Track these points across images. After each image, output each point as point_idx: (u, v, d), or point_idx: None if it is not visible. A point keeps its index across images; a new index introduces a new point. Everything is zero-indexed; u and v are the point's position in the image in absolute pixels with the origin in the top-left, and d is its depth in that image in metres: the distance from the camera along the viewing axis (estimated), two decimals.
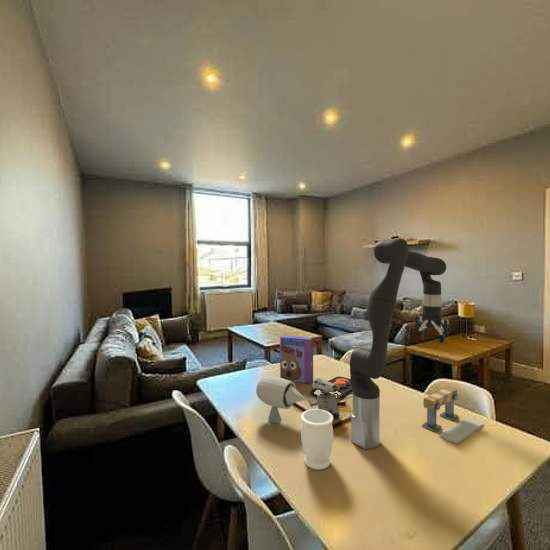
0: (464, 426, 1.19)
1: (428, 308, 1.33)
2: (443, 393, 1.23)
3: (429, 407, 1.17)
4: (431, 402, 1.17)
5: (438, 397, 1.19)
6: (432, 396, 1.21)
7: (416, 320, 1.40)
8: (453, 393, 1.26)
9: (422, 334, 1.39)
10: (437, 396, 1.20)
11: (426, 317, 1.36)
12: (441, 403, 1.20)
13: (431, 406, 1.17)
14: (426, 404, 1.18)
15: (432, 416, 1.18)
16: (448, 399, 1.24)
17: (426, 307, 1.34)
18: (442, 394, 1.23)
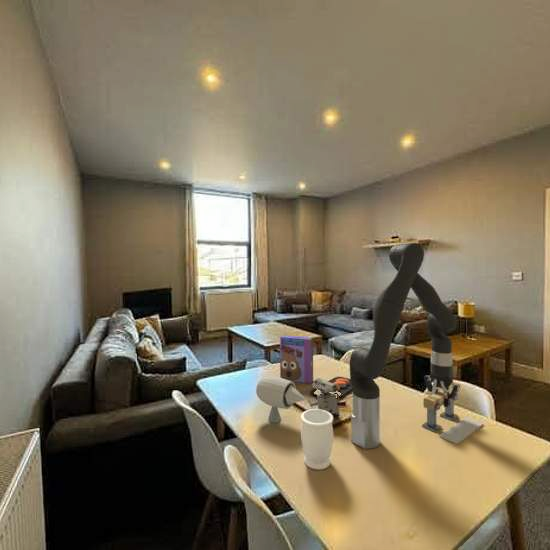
0: (464, 426, 1.19)
1: (437, 368, 1.20)
2: (443, 393, 1.23)
3: (429, 407, 1.17)
4: (431, 402, 1.17)
5: (438, 397, 1.19)
6: (432, 396, 1.21)
7: (425, 381, 1.27)
8: None
9: None
10: (437, 396, 1.20)
11: (435, 376, 1.24)
12: (441, 403, 1.20)
13: (431, 406, 1.17)
14: (426, 404, 1.18)
15: (432, 416, 1.18)
16: None
17: (435, 366, 1.21)
18: (442, 394, 1.23)
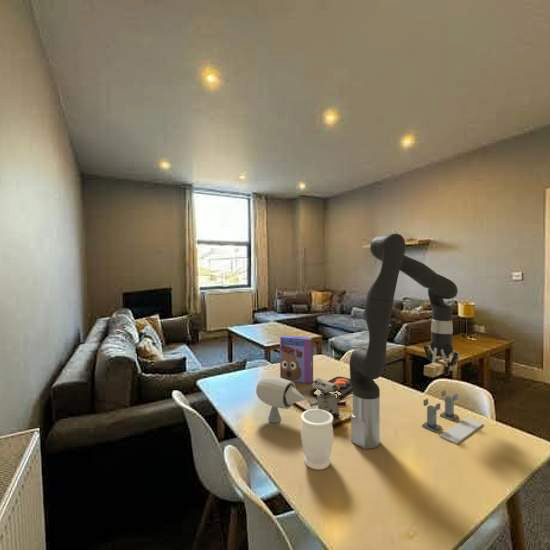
0: (464, 426, 1.19)
1: (438, 336, 1.20)
2: (443, 362, 1.23)
3: (429, 374, 1.17)
4: (431, 369, 1.16)
5: (439, 365, 1.19)
6: (432, 364, 1.20)
7: (426, 351, 1.27)
8: None
9: None
10: (437, 364, 1.20)
11: (435, 345, 1.23)
12: (441, 371, 1.20)
13: (431, 373, 1.16)
14: (426, 371, 1.18)
15: (432, 416, 1.18)
16: None
17: (435, 334, 1.21)
18: (442, 362, 1.22)
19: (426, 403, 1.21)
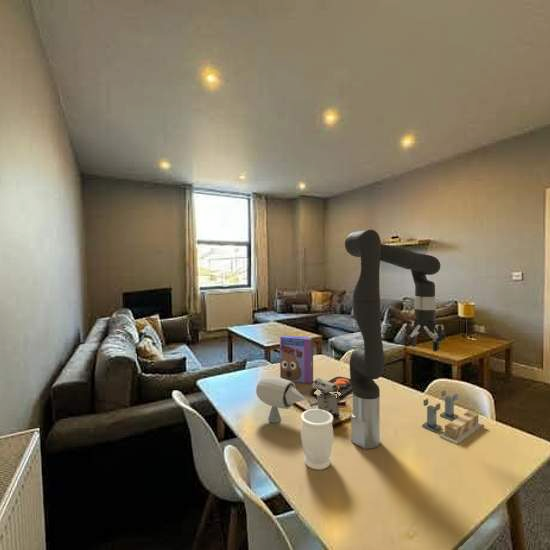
0: None
1: (420, 312, 1.18)
2: (464, 419, 1.17)
3: (451, 435, 1.11)
4: (453, 430, 1.10)
5: (460, 425, 1.13)
6: (453, 423, 1.15)
7: (407, 325, 1.25)
8: (474, 419, 1.19)
9: (414, 341, 1.24)
10: (458, 423, 1.14)
11: (418, 322, 1.22)
12: (463, 431, 1.14)
13: (453, 435, 1.11)
14: (447, 432, 1.12)
15: (432, 416, 1.18)
16: (470, 425, 1.17)
17: (418, 311, 1.19)
18: (463, 420, 1.17)
19: (426, 403, 1.21)
